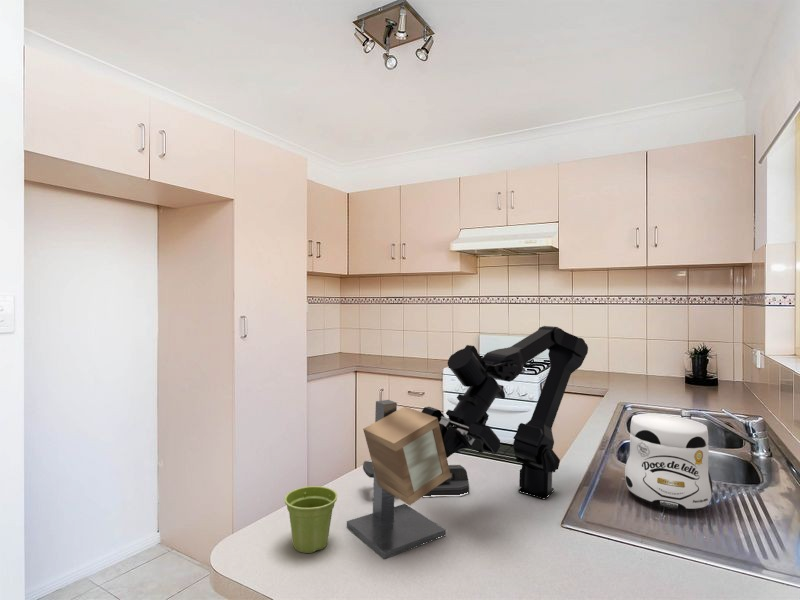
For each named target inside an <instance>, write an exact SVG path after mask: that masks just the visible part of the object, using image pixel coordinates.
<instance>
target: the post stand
mask: <svg viewBox="0 0 800 600" xmlns="http://www.w3.org/2000/svg"><path fill="white" fill-rule="evenodd" d="M397 406H398V402H395V401H393V400H390V399H383V400H376V401H375V417H374V419H375V421H374V423H375V422H377V421H379V420H380V419H382V418H384V417H386V416H388V415H390V414H392V413H393V412H395V411H397V410H398V409H397V408H398V407H397ZM372 495H373V496H372V513H369V514H365V515H363V516H360V517H357V518H356V517H355V518H352V519H350V520H349V519H348V520H347V521H346V528H347V529H348V530H349V531H351V532H352V533H353V534H354V536H356V537H357V538H359V539H360V540H361V541H362V542H363V543H364V544H366V545H367V546H368V547H369V548H370V549H371V550H372V551H374V552H375V553H376V554H378V556H380V557H381V558H382V559H383V560H386V559H388V558H390V557H393V556H396V555H399V554H401V553H402V554H403V553H404V552H407V551H409V549H410V550H411V548H412V549H414V547H415V548H417V547H416V546H418V547H420V546H422V545H421V544H423V543H426V542H428V543H430V542H429V541H431V540H434V539H436V538H438V537H441V536H444V535H446V533H447V532H446V531H447V530H446V529H445V528H444V527H442V526H440V524H437V523H436V522H434V521H433V520H432V519H429V518H428V517H427V516H425V515H423V514H422V513H421V512H419V511H417V510H415V509H414V508H413V507H411V506H410V505H408V504H406V503H402V504H400V505H396V506H395V496H394V495H392V494H391V493H389V492H387V491H386V490H384V489H383V488H381V487H379V486H378V483H377V479H376V475H375V472H374V478H373V494H372ZM444 537H445V536H444ZM436 540H437V539H436ZM434 541H435V540H434ZM431 542H432V541H431ZM426 544H427V543H426ZM419 545H420V546H419ZM423 545H424V544H423ZM406 550H407V551H406Z"/></svg>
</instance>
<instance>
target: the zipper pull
mask: <svg viewBox="0 0 800 600" xmlns="http://www.w3.org/2000/svg"><path fill="white" fill-rule="evenodd" d="M448 466H449V470H450V474H451V477H450V478H448V479H447V480H445V481H444V482H443V483H441V484H440V485H438V486H437V487H435V488H434V489H433V490H431V491H430V492H428V493H427V494H426V495H424V496H431V495H460V494H464V493H467V492H469V493H470V482H469V478H468V472H467V469H466V468H465V467H463V465H461V464H448ZM362 470H363V472H364V473H365V475H366V476H367V477H368V478H370V479H371V478H373V479H374V468H373V464H372V461H369V460H365V461H363V463H362Z"/></svg>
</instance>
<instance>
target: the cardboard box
mask: <svg viewBox="0 0 800 600" xmlns="http://www.w3.org/2000/svg"><path fill="white" fill-rule="evenodd" d="M363 433H364V437H365V441H366V445H367V449H368V452H369V457H370V461H371V462H372V464H373V468H374V472H375V475H376V479H377V483H378V486H379V487H381V488H383V489H384V490H386V491H387V492H389V493H391V494H392V495H394V498H395V497H396V498H397V499H398V500H400V501H402V502H403V503H404V504H406V505H408V506H412V505H413V504H414V503H416V502H417V501H418V500H419V499H421V497H423V496H424V495H426V494H427V493H428V492H430V491H431V490H433V489H434V488H435V487H437V486H438V485H440V484H441V483H443V482H444V481H445V480H447V479H448V478H450V477H451V474H450V470H449V466H448V465H449V462H448V458H447V457H446V453H445V448H444V444H443V440H442V435H441V431H440V427H439V422H438V418H437V417H434V416H431V415H428V414H425V413H422V411H419V410H415V409H414V408H410V407H408V406H403V407H401V408H399V409H397V411H395V412H393V413H392V414H390V415H388V416H386V417H384V418H382V419H380V420H379V421H377V422H375V421H374V423H371V424H370V425H367V426H366V427H364V428H363Z"/></svg>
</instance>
